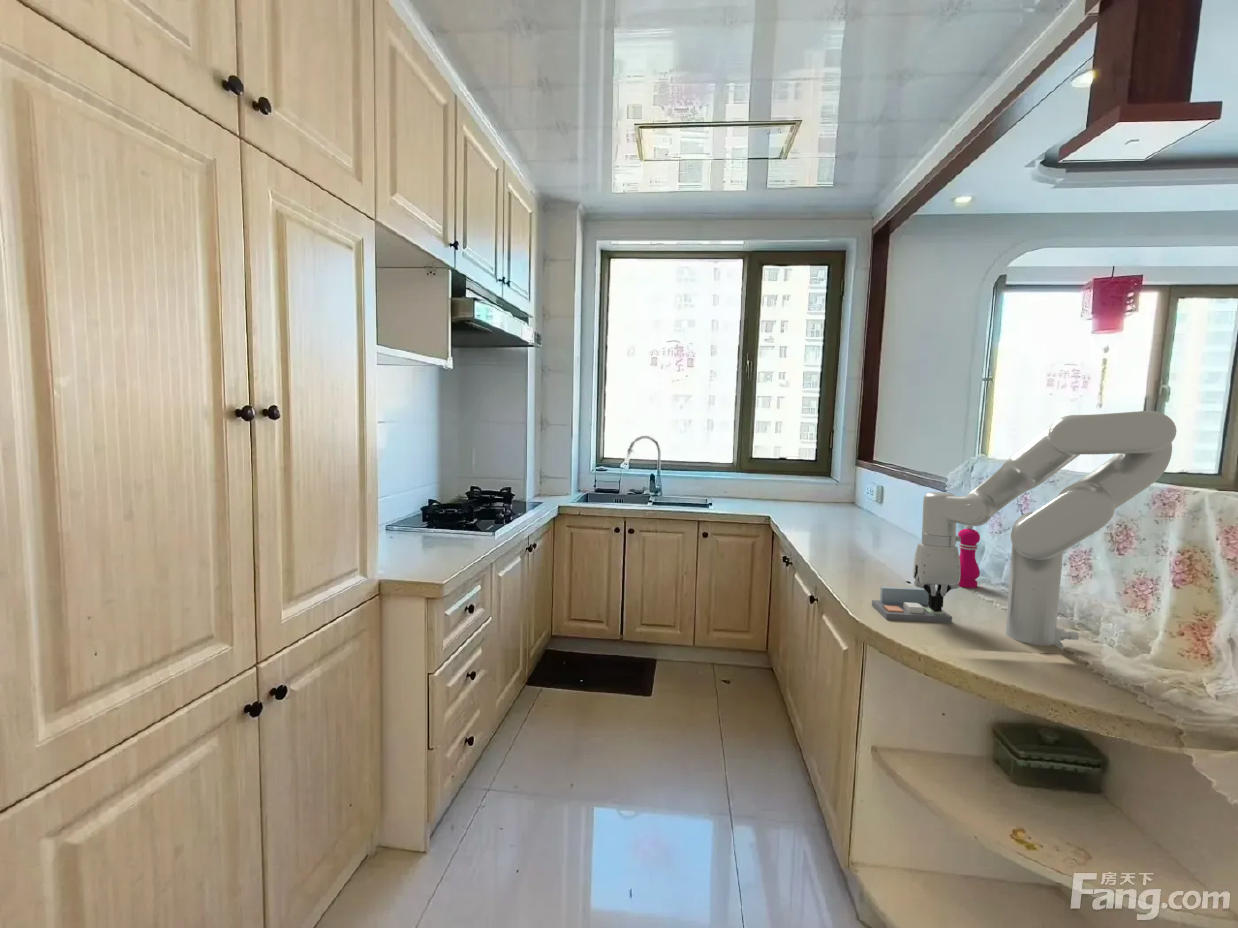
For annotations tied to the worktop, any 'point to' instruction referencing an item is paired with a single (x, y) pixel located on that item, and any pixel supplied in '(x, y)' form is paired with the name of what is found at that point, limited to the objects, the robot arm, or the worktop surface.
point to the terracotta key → (893, 609)
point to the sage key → (932, 611)
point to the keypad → (911, 595)
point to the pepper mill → (968, 557)
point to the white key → (913, 607)
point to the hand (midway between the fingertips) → (935, 609)
